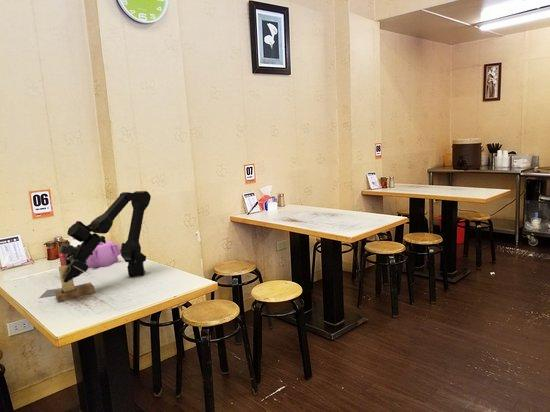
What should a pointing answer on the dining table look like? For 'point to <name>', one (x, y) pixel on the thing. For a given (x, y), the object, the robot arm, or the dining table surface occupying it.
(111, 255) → the teakettle
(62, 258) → the soda can
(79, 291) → the socket block
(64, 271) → the pin
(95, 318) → the dining table surface
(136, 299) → the dining table surface
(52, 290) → the mat
